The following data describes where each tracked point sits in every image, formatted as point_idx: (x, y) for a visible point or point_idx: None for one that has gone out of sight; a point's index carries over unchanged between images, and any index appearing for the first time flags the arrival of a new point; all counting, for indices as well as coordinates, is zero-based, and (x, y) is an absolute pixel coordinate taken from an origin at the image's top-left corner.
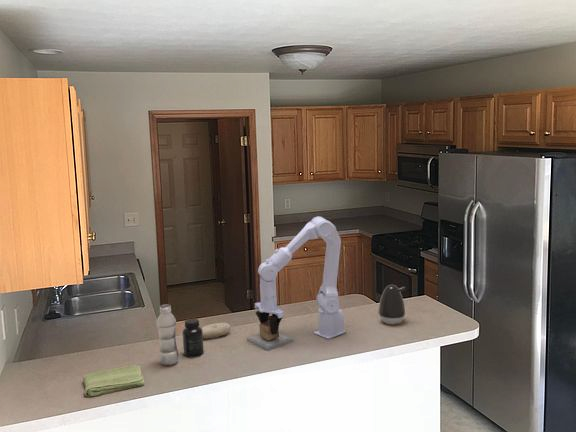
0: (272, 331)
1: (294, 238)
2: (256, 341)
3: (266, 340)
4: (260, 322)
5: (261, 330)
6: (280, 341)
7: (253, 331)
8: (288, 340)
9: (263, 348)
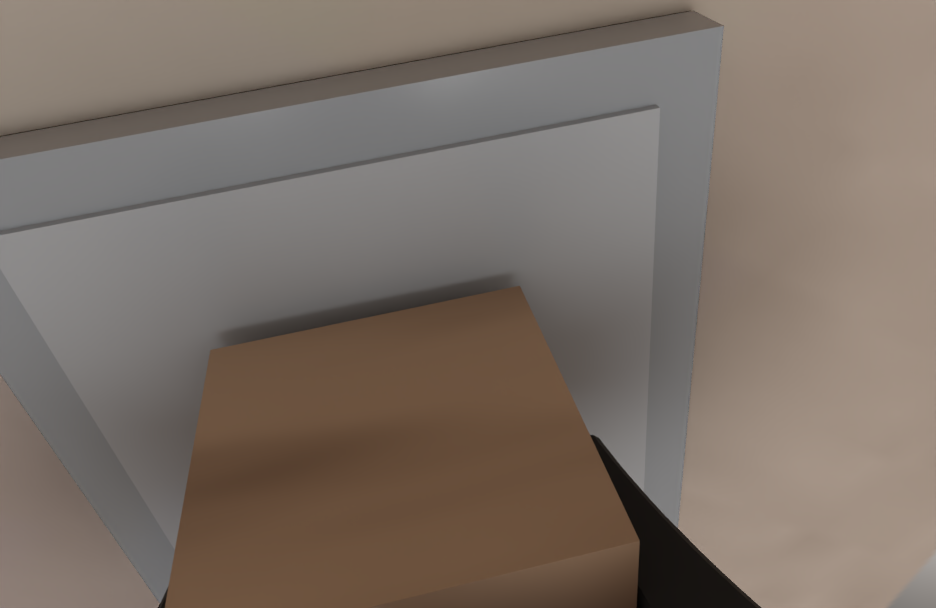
0: (164, 600)
1: None
2: (410, 135)
3: (316, 326)
4: (698, 580)
5: (490, 415)
6: (148, 499)
7: (909, 297)
8: (155, 589)
9: (48, 129)
